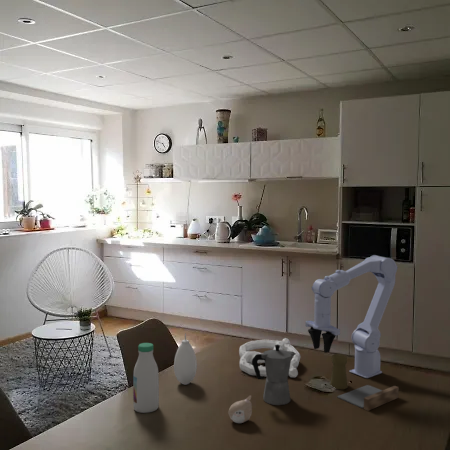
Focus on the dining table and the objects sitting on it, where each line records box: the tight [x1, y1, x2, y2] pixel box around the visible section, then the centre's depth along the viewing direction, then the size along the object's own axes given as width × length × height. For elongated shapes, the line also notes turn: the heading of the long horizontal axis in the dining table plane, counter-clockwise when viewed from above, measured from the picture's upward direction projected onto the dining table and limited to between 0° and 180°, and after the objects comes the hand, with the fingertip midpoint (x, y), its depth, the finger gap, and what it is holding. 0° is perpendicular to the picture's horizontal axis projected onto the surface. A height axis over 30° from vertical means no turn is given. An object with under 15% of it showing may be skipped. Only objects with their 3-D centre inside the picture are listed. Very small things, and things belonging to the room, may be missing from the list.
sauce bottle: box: [173, 333, 198, 386], centre depth 167 cm, size 8×8×18 cm
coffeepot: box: [251, 345, 296, 406], centre depth 154 cm, size 15×9×18 cm, turn 110°
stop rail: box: [363, 385, 400, 412], centre depth 152 cm, size 16×2×4 cm, turn 127°
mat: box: [337, 384, 382, 409], centre depth 157 cm, size 16×10×1 cm, turn 127°
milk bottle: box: [132, 342, 160, 414], centre depth 147 cm, size 8×8×20 cm
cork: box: [329, 353, 348, 390], centre depth 166 cm, size 6×6×11 cm
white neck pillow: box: [238, 337, 301, 379], centre depth 186 cm, size 28×24×6 cm
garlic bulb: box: [227, 394, 253, 424], centre depth 139 cm, size 7×6×8 cm
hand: (321, 350), depth 172 cm, fingers open, 4 cm apart
